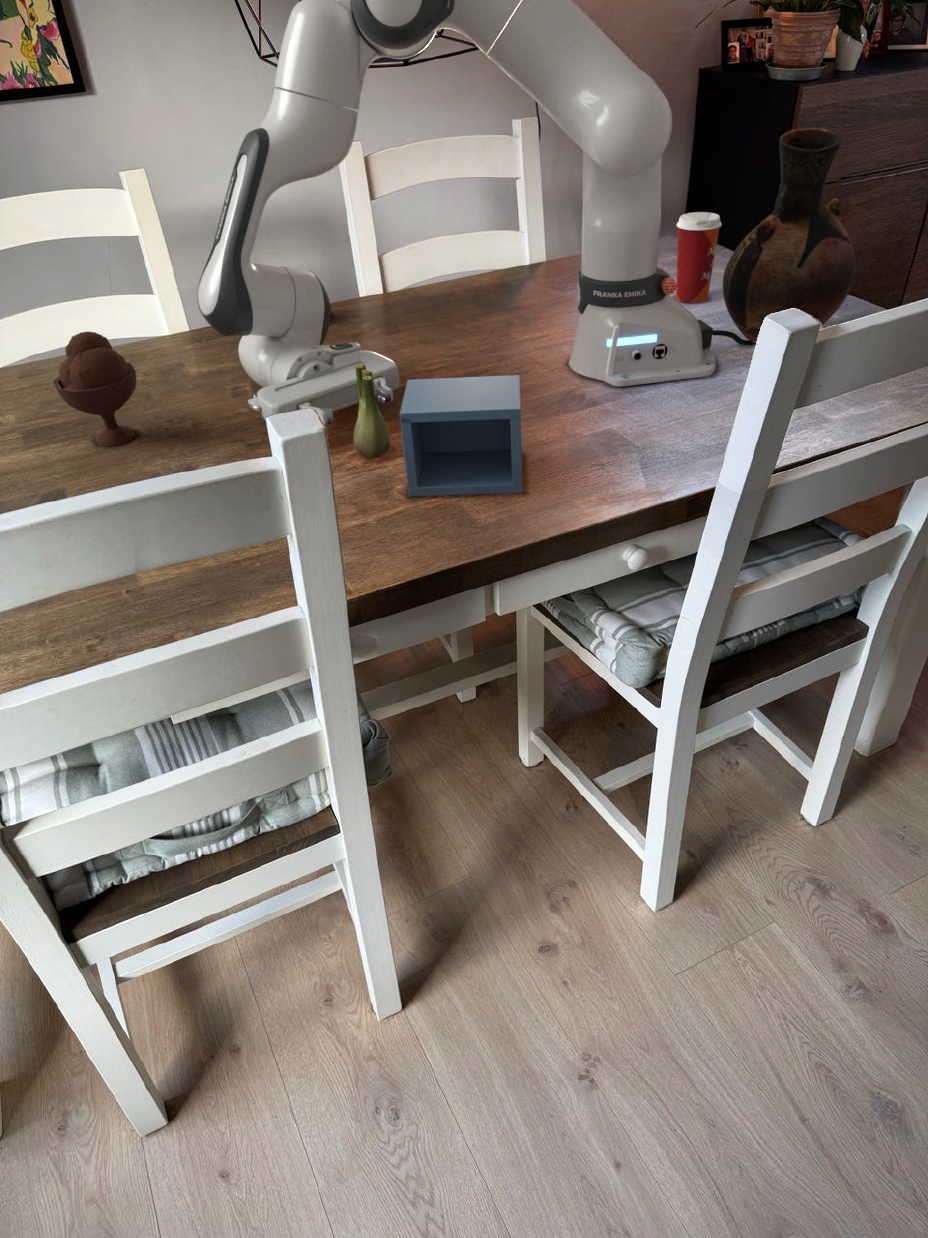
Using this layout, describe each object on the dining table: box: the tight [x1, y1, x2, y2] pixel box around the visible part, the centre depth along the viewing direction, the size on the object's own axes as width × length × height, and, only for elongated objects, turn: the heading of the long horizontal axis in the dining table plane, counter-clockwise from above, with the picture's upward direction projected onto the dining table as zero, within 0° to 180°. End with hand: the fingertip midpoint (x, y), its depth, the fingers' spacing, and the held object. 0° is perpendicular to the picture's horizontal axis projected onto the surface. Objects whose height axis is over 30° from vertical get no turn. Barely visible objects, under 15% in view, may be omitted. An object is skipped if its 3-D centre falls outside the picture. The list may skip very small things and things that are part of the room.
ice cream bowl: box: [52, 331, 137, 448], centre depth 120 cm, size 11×11×15 cm
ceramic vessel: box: [722, 127, 856, 344], centre depth 129 cm, size 21×18×30 cm
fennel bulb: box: [352, 363, 391, 459], centre depth 112 cm, size 6×5×12 cm
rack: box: [399, 374, 523, 497], centre depth 106 cm, size 14×10×11 cm
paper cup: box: [675, 211, 723, 304], centre depth 153 cm, size 8×8×14 cm
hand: (359, 407), depth 113 cm, fingers open, 8 cm apart
